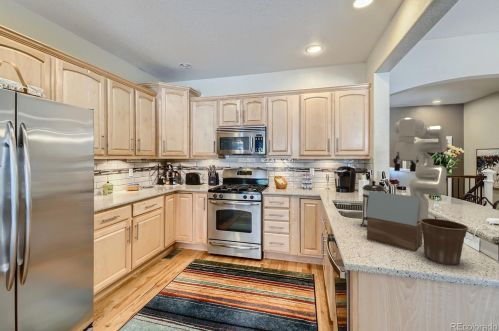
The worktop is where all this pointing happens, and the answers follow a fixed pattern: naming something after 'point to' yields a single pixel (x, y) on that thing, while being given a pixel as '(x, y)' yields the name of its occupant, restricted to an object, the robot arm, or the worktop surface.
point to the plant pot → (443, 240)
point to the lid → (393, 207)
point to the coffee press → (366, 190)
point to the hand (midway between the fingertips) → (404, 171)
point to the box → (395, 233)
